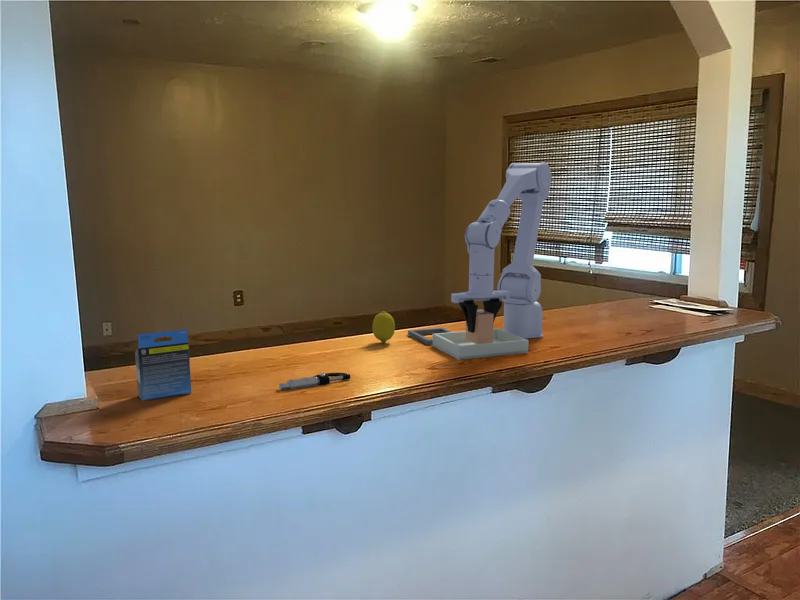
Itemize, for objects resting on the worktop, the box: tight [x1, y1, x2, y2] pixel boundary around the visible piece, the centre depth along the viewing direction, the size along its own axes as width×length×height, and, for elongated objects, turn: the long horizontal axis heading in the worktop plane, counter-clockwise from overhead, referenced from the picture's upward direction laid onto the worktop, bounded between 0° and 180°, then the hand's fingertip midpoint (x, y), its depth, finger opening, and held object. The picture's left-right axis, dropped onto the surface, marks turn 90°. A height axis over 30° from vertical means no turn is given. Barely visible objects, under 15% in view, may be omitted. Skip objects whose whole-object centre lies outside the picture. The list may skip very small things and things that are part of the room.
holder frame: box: [407, 327, 453, 346], centre depth 169 cm, size 10×12×1 cm
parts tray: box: [432, 327, 529, 361], centre depth 157 cm, size 18×14×3 cm
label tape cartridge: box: [134, 328, 192, 402], centre depth 121 cm, size 9×4×12 cm, turn 121°
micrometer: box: [278, 372, 351, 391], centre depth 131 cm, size 15×7×2 cm, turn 120°
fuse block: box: [465, 309, 495, 344], centre depth 157 cm, size 4×6×7 cm, turn 22°
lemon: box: [371, 310, 396, 344], centre depth 163 cm, size 6×6×8 cm
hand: (479, 331), depth 157 cm, fingers closed on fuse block, 4 cm apart
